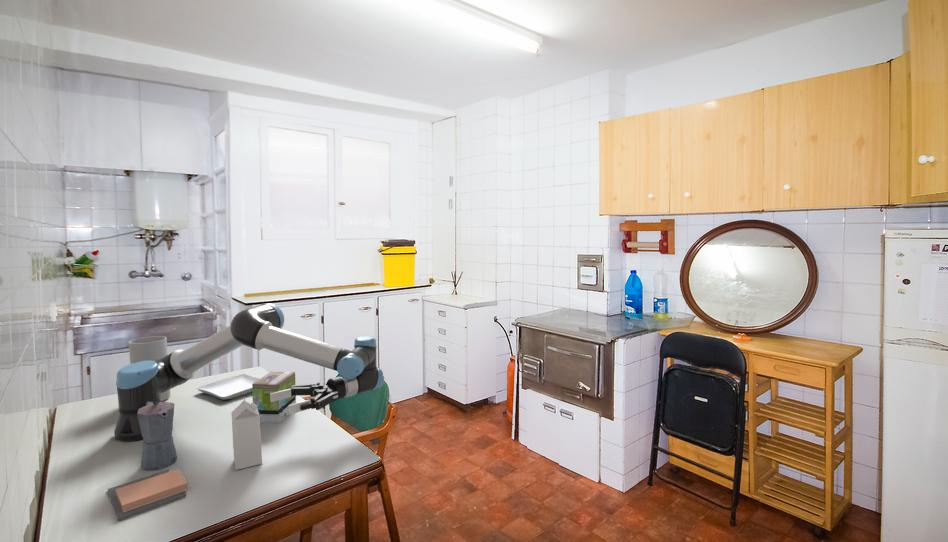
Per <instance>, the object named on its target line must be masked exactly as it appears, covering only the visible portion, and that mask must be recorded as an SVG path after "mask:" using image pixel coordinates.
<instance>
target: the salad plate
mask: <svg viewBox="0 0 948 542" xmlns="http://www.w3.org/2000/svg"><path fill="white" fill-rule="evenodd" d="M259 379H261V378H259V377H256V376H253V375H249V374H246V373H241V374H237V375H234V376H230V377H226V378H222V379H220V380H216V381H213V382H210V383H206V384H203V385H200V386H197V387H196V390H198V391H199V392H201V393H204V394H207V395H210V396H213V397H215V398H217V399H220V400H222V401H223V400H224V401H225V400H227V401H228V400H231V399H235V398H238V397H241V396H244V395H246V394H247V393H248V394H251V393H252V384H253V383H255V382H256V381H258V380H259ZM250 392H251V393H250Z"/></svg>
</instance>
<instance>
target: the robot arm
mask: <svg viewBox="0 0 948 542" xmlns="http://www.w3.org/2000/svg"><path fill="white" fill-rule="evenodd" d="M284 324H285V315H284V312H283V311H282V309H281V307H279V306H278V305H276V304H274V303H269V302H268V303H267V302H266V303H260V304H259V305H256V306H253V307H252V306H251V307H250V308H247V309H243V310H240V311H239V312H237V313H236V314H235V315H234V316H233V318H232V320H231V322H230V325H228V326H226V327H225V328H223V329H221V330H219V331H217V332H216V333H213V334H212V335H210V336H208V337H207V338H204V339H203V340H201V341H199V342H197V343H196V344H194V345H192V346H190V347H188V348H186V349H182V348H181V349H176V350H174V351H172V352H171V353H168V355H167V356H165V357H163V358H161V359H159V360H156V361H140V362H137V363H132V364H130V363H129V364H128V365H125V366H123V367H121V368H119V370H118V371H117V373H116V383H115V385H116V391H117V400H118V401H117V402H118V411H119V415H118V418H117V421H116V425H115V428H114V433H113V435H114V439H115V440H116V441H118V442H134V441H135V442H136V441H141V440H143V437H142V434H141V429H140V425H139V421H138V416H137V413H138V409H140V408H142V407H144V403H145V400H148V401H149V402H152V401H153V400H154V399H159V401H158V403H159V402H161V399H160V394H161V393H164V392H165V391H167V390H170V391H171V390H172V389H174V388H176V387H178V386H181V385H183V384H185V383H187V382H188V381H190V379H192V378H194V377H195V376H196V375H197V373H198V371H199V370H200V369H202V368H204V367H206V366H208V365H209V364H212V363H213V362H215V361H217V360H219V359H220V358H222V357H225V356H226V355H228V354H230V353H232V352H233V351H235V350H237V349H239V348H241V347H243V346H245V347H248V348H251V349H254V350H258V351H261V350H263V349H265V350H267V351H272V352H275V353H279V354H281V355H285V356H288V357H291V358H294V359H297V360H301V361H303V362H307V363H311V364H312V365H313V364H314V365H317V366H319V367H323V368H326V369H330V370H333V371H335V372H337V373H338V375H339V376H335V377H331V378H329V379H328V380H326V383H325V384H321V383H320V382H319V381H317V382H315V383H304V384H295V385H292V386H289V389H286V390H282V391H278V392H274V393H270V402H274V401H278V400H282V399H286V398H291V397H292V396H296V397H297V396H298V397H299V396H310V397H312V398H310V399H305V400H303V401H302V400H301V401H298V402H296V403H295V404H291V405H288V416H289V415H294V414H297V413H300V412H303V411H307V410H310V409H311V410H314V409H315V411H319V410H321V409H323V408H325V407H326V406H328V405H330V404H331V403H333V402H335V401H338V400H342V399H344V398H351V397H353V396H355V395H356V396H357V395H359V394H362V393H366V392H371V391H374V390H377V389H379V388H381V387H382V386H383V385H384V382H385V376H384V373H383V370H382V369H381V368H380V367H378V366H377V348H378V347H377V340H376V338H375V337H373V336H367V335H365V336H359V337H356V338H355V339H354V345H353V347H354V348H353V349H352V350H350V349H346V348H342V347H339V346H338V345H334V344H330V343H327V342H325V341H320V340H318V339H314V338H311V337H308V336H305V335H302V334H298V333H296V332H293V331H288V330H286V329H282V328H283V327H284Z"/></svg>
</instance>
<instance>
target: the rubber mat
mask: <svg viewBox="0 0 948 542" xmlns="http://www.w3.org/2000/svg"><path fill="white" fill-rule="evenodd" d="M170 471H171V470H170V469H166V470H162V471H160V472H156V473H153V474H150V475H146V476H144V477H141V478H138V479H133V480H132V481H129V482H126V483H122V484H119V485H116V486H113V487H109V488H107V489H106V490H108V491H107V494H108V493H109V494H108V497H109V496H110V497H109V499H110V498H111V499H110V502H111V501H112V502H111V504H112V507H113V509H115V510H114V512H115V515H116V517H118V518H117V520H118V522H120V521H123V520H126V519H129V518H131V517H134V516H136V515H140V514H143V513H145V512H148V511H150V510H153V509H157V508H159V507H161V506H165V505H167V504H170V503H173V502H176V501H178V500H181V499H183V498H186V493H185V491H183V492H180V493H177V494H174V495H172V496H169V497H166V498H163V499H160V500H157V501H155V502H152V503H149V504H146V505H143V506H140V507H138V508H135V509H132V510H129V511H126V512H123V511H122V509H121V506H120V504H119V501H118V499H117V497H116V490H115V489H118V488H121V487H124V486H127V485H130V484H133V483H136V482H139V481H142V480H146V479H149V478H152V477H155V476H158V475H161V474H164V473H167V472H170Z"/></svg>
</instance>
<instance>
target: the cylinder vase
mask: <svg viewBox="0 0 948 542" xmlns="http://www.w3.org/2000/svg"><path fill="white" fill-rule="evenodd" d="M167 340H168V339H167V336H165V335H164V336H163V335H153V336H144V337H139V338H135V339H131V340H129V341H128V350H129V351H128V353H129V361H130V362H129V364H132V363H137V362H140V361H156V360H159V359H161V358H163V357H165V356H167V355H169V353H168V341H167ZM170 397H171V389H170V390H167V391H165V392H164V393H161V394H160V399H161V402H165V401H167V400H168V399H169V398H170Z"/></svg>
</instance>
